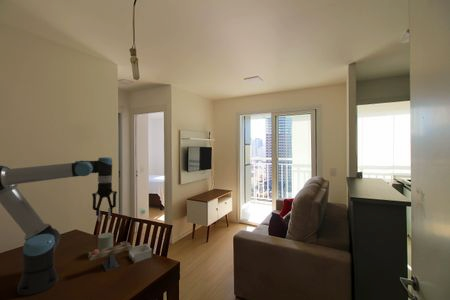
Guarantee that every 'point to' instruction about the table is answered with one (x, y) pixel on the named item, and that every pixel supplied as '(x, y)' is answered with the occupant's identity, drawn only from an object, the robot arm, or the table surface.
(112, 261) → the fulcrum
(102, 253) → the lever
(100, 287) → the table surface
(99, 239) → the can
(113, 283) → the table surface
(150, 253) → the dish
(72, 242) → the table surface
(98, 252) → the ball
